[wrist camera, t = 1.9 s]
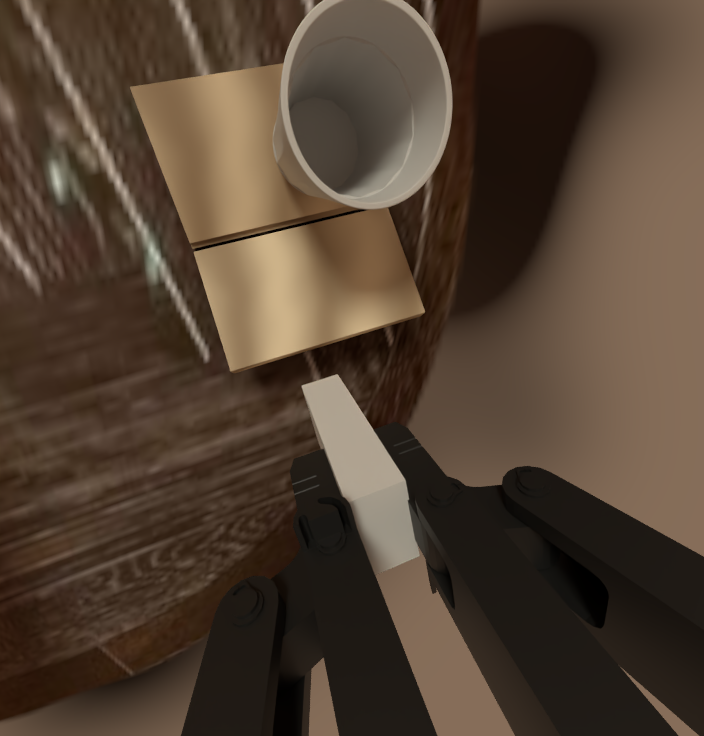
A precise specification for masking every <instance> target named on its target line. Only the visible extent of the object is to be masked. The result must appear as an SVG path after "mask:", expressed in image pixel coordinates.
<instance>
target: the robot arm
mask: <svg viewBox="0 0 704 736" xmlns="http://www.w3.org/2000/svg"><path fill="white" fill-rule="evenodd" d="M302 389H303V393H304V396H305V399H306V403H307V406H308V409H309V412H310V416H311V419H312V422H313V425H314V429H315V432H316V435H317V438H318V442H319V444H320V447H321V450H318V451H315V452H313V453H310V454H307V455H304V456H301V457H298V458H296V459H294V461H293V464H292V467H291V470H290V475H291V480H292V484H293V489H294V494H295V499H296V504H297V509H298V511H297V512H296V514H295V516H294V523H293V528H294V530H295V533H296V536H297V538H298V541H299V543H300V546H301V548H300V550H299V552H298V554H297V556H296V557H295V558H294V559H293V561H292V562H291V563H290V564H289V565H288V566H287V567H286V568H285V569H283V570H282V571H281V572H279V573H278V574H277V575H276V576H274V577H273V578H272V579H268V578H266V577H265V576H252V577H249V578H247V579H244V580H241V581H240V582H239V583H237V584H236V585H235V586H233V587H232V588H231V589H230V590H229V591H228V592H227V593H226V595H225V596H224V597H223V598H222V600H221V602H220V604H219V606H218V608H217V611H216V613H215V616H214V620H213V623H212V627H211V630H210V634H209V638H208V641H207V645H206V648H205V652H204V655H203V659H202V663H201V666H200V670H199V673H198V677H197V680H196V684H195V687H194V691H193V695H192V698H191V702H190V705H189V709H188V713H187V716H186V720H185V723H184V727H183V731H182V734H181V736H309V712H310V689H311V688H310V687H311V669H312V668H313V667H314V666H315V665H316V664H317V663H318V662H319V661H320V660H321V659H322V658H323V657H324V661H325V666H326V671H327V676H328V681H329V686H330V691H331V696H332V701H333V706H334V711H335V717H336V722H337V726H338V732H339V736H437V734H436V731H435V729H434V726H433V723H432V721H431V719H430V716H429V713H428V710H427V708H426V705H425V703H424V700H423V698H422V695H421V693H420V690H419V687H418V685H417V682H416V679H415V677H414V674H413V672H412V669H411V667H410V664H409V661H408V659H407V656H406V654H405V651H404V649H403V646H402V643H401V641H400V638H399V636H398V633H397V630H396V628H395V625H394V623H393V620H392V618H391V615H390V612H389V610H388V607H387V605H386V603H385V599H384V597H383V595H382V592H381V589H380V587H379V584H378V581H377V579H376V577H375V575H377V574H379V573H382V572H384V571H386V570H389V569H391V568H393V567H395V566H398V565H400V564H402V563H405V562H407V561H409V560H412V559H414V558H416V557H419V550H418V546H419V548H420V549H421V551H422V553H423V555H424V557H425V559H426V564H427V570H428V576H429V581H430V586H431V589H432V593H433V594H434V593H436V588H437V590H438V592H439V594H440V596H441V598H442V599H443V601H444V603H445V605H446V607H447V609H448V611H449V613H450V614H451V616H452V618H453V620H454V622H455V624H456V626H457V627H458V630H459V631H460V633H461V635H462V637H463V639H464V641H465V643H466V644H467V646H468V648H469V650H470V652H471V654H472V656H473V658H474V659H475V661H476V663H477V665H478V667H479V669H480V671H481V673H482V674H483V676H484V678H485V680H486V682H487V684H488V686H489V688H490V689H491V691H492V693H493V695H494V697H495V699H496V701H497V703H498V704H499V706H500V708H501V710H502V712H503V714H504V716H505V718H506V719H507V721H508V723H509V725H510V727H511V729H512V731H513V732H514V734H515V736H678V735H677V733H676V732H675V731H674V730H673V729H672V728H671V726H670V725H669V724H668V723H667V722H666V720H665V719H664V718H663V717H662V716H661V715H660V713H659V712H658V711H657V710H656V709H655V708H654V706H653V705H652V704H651V703H650V702H649V701H648V699H647V698H646V697H645V696H644V695H643V693H642V692H641V691H640V690H639V689H638V688H637V687H636V685H635V684H634V683H633V682H632V681H631V679H630V678H629V677H628V676H627V675H626V673H625V672H624V671H623V670H622V669H621V668H623V669H624V670H625V671H626V672H627V673H628V674H629V675H631V676H632V677H633V678H634V679H635V680H636V681H637V682H639V683H640V684H641V685H642V686H643V687H644V688H645V689H647V690H648V691H649V692H650V693H651V694H652V695H653V696H655V697H656V698H657V699H658V700H659V701H660V702H661V703H663V704H664V705H665V706H666V707H667V708H668V709H669V710H671V711H672V712H673V713H674V714H675V715H677V717H679V718H680V719H681V720H682V721H683V722H684V723H685V724H687V725H688V726H689V727H690V728H691V729H692V730H693V731H695V732H696V733H697V734H698V735H699V736H704V557H703V556H701V555H700V554H698V553H696V552H694V551H692V550H691V549H689V548H687V547H685V546H683V545H682V544H680V543H678V542H676V541H674V540H673V539H671V538H669V537H667V536H665V535H663V534H662V533H660V532H658V531H656V530H654V529H653V528H651V527H649V526H647V525H645V524H643V523H641V522H640V521H638V520H636V519H634V518H633V517H631V516H629V515H627V514H625V513H623V512H622V511H620V510H618V509H616V508H614V507H613V506H611V505H609V504H607V503H605V502H604V501H602V500H600V499H598V498H596V497H595V496H593V495H591V494H589V493H587V492H586V491H584V490H582V489H580V488H578V487H576V486H574V485H573V484H571V483H569V482H567V481H566V480H564V479H562V478H560V477H558V476H557V475H555V474H553V473H551V472H549V471H546V470H544V469H541V468H538V467H531V466H523V467H516V468H514V469H512V470H510V471H508V472H507V473H506V475H505V476H504V477H503V481H502V485H495V486H486V487H469V486H465V485H464V484H462V483H461V482H460V481H459V480H457V479H454V478H451V477H447V476H446V475H445V474H444V472H443V471H442V470H441V469H440V467H439V466H438V465H437V464H436V462H435V461H434V460H433V459H432V458H431V456H430V455H429V454H428V453H427V451H426V450H425V449H424V448H423V447H422V446H421V444H420V443H419V442H418V440H417V439H415V437H414V435H413V434H412V433H411V432H410V430H409V429H408V428H407V427H405V426H403V425H400V424H398V423H396V422H394V423H391V424H388V425H385V426H383V427H380V428H377V429H374V430H373V429H372V427H371V426H370V424H369V422H368V421H367V419H366V418H365V416H364V415H363V413H362V412H361V410H360V408H359V407H358V405H357V404H356V402H355V401H354V399H353V398H352V396H351V394H350V393H349V391H348V390H347V388H346V387H345V385H344V384H343V382H342V380H341V379H340V377H339V376H338V374H337V375H333V376H330V377H327V378H324V379H321V380H318V381H315V382H312V383H308V384H305V385H302ZM620 667H621V668H620Z"/></svg>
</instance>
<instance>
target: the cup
mask: <svg viewBox="0 0 704 736" xmlns="http://www.w3.org/2000/svg"><path fill="white" fill-rule="evenodd" d="M451 118H452V89H451V82H450V76H449V71H448V67H447V63H446V60H445V57H444V54H443V52H442V49H441V47H440V45H439V43H438V41H437V39H436V37H435V35H434V34H433V32H432V30H431V29H430V27H429V26H428V24H427V23H426V22H425V21H424V19H423V18H422V17H421V16H420V15H419V14H418V13H417V12H416V11H415V10H414V9H413V8H412V7H411V6H410V5H408V4H407V3H406V2H404V1H403V0H323V1H322V2H320V3H319V4H318V5H317V6H316V7H314V8H313V9H312V10H311V11H310V12H309V13H308V15H307V16H306V17H305V18H304V20H303V21H302V22H301V24H300V25H299V27H298V28H297V30H296V32H295V34H294V36H293V38H292V40H291V42H290V45H289V47H288V50H287V53H286V57H285V60H284V65H283V70H282V76H281V85H280V94H279V103H278V114H277V119H276V123H275V126H274V131H273V151H274V156H275V159H276V162H277V165H278V167H279V169H280V171H281V173H282V174H283V176H284V177H285V179H286V180H287V181H288V182H289V183H290V184H291V185H292V186H293V187H294V188H295V189H297V190H298V191H300V192H302V193H304V194H306V195H309V196H313V197H319V198H323V199H327V200H331V201H334V202H337V203H340V204H343V205H346V206H349V207H353V208H357V209H365V210H376V209H383V208H387V207H391V206H394V205H396V204H398V203H400V202H402V201H404V200H406V199H407V198H409V197H410V196H412V195H413V194H414V193H415V192H417V191H418V190H419V189H420V188H421V187H422V186H423V185H424V184H425V183H426V181H427V180H428V179H429V177H430V176H431V175H432V173H433V172H434V170H435V168H436V167H437V165H438V163H439V161H440V159H441V157H442V154H443V152H444V149H445V146H446V143H447V140H448V136H449V131H450V126H451Z"/></svg>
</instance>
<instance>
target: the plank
mask: <svg viewBox="0 0 704 736" xmlns="http://www.w3.org/2000/svg"><path fill="white" fill-rule="evenodd" d="M194 255H195V258H196V261H197V264H198V268H199V271H200V274H201V277H202V280H203V284H204V287H205V290H206V293H207V297H208V300H209V303H210V306H211V309H212V313H213V316H214V319H215V322H216V325H217V329H218V332H219V335H220V338H221V341H222V345H223V348H224V351H225V354H226V358H227V361H228V364H229V367H230V370H231V372H233V373H237V372H240V371H243V370H246V369H250V368H253V367H256V366H259V365H263V364H266V363H269V362H273V361H276V360H279V359H282V358H286V357H289V356H292V355H295V354H299V353H302V352H305V351H308V350H312V349H315V348H318V347H322V346H325V345H328V344H331V343H335V342H338V341H341V340H344V339H348V338H351V337H354V336H357V335H361V334H364V333H367V332H370V331H374V330H377V329H380V328H384V327H387V326H390V325H393V324H397V323H400V322H403V321H406V320H410V319H413V318H416V317H419V316H421V315H422V314H424V313H425V310H424V307H423V305H422V302H421V299H420V296H419V293H418V291H417V288H416V285H415V282H414V279H413V277H412V274H411V271H410V268H409V265H408V263H407V260H406V257H405V254H404V251H403V249H402V246H401V243H400V240H399V237H398V235H397V232H396V229H395V226H394V223H393V221H392V218H391V215H390V212H389V209H388V207H387V208H383V209H376V210H366V211H362V212H358V213H354V214H349V215H345V216H341V217H337V218H333V219H329V220H324V221H320V222H316V223H312V224H308V225H304V226H300V227H295V228H291V229H287V230H283V231H279V232H275V233H270V234H266V235H262V236H258V237H254V238H250V239H245V240H241V241H237V242H233V243H229V244H225V245H220V246H216V247H212V248H208V249H204V250H200V251H195V252H194Z"/></svg>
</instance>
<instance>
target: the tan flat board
mask: <svg viewBox="0 0 704 736" xmlns="http://www.w3.org/2000/svg"><path fill="white" fill-rule="evenodd" d="M283 65H284V63H283V64H276V65H270V66H263V67H257V68H251V69H244V70H238V71H231V72H225V73H218V74H212V75H205V76H199V77H192V78H186V79H179V80H173V81H166V82H160V83H153V84H147V85H140V86H134V87H130V89H131V91H132V94H133V97H134V99H135V102H136V104H137V107H138V110H139V112H140V115H141V117H142V120H143V123H144V125H145V128H146V130H147V133H148V136H149V138H150V141H151V143H152V146H153V149H154V151H155V154H156V156H157V159H158V162H159V164H160V167H161V169H162V172H163V175H164V177H165V180H166V182H167V185H168V188H169V190H170V193H171V195H172V198H173V200H174V203H175V206H176V208H177V211H178V213H179V216H180V219H181V221H182V224H183V226H184V229H185V232H186V234H187V237H188V239H189V242H190V243H191V246H192V248H193V249H195V248H199V247H203V246H207V245H211V244H216V243H220V242H224V241H228V240H232V239H236V238H241V237H245V236H249V235H253V234H257V233H262V232H266V231H270V230H274V229H278V228H283V227H287V226H291V225H295V224H299V223H303V222H308V221H312V220H316V219H320V218H324V217H329V216H333V215H337V214H341V213H345V212H350V211H354V210H358V209H357V208H353V207H349V206H346V205H343V204H340V203H337V202H334V201H331V200H327V199H323V198H319V197H313V196H309V195H306V194H304V193H302V192H300V191H298V190H297V189H295V188H294V187H293V186H292V185H291V184H290V183H289V182H288V181H287V180H286V179H285V177H284V176H283V174H282V173H281V171H280V169H279V167H278V165H277V162H276V159H275V156H274V151H273V131H274V126H275V123H276V119H277V114H278V103H279V94H280V85H281V76H282V70H283Z"/></svg>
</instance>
